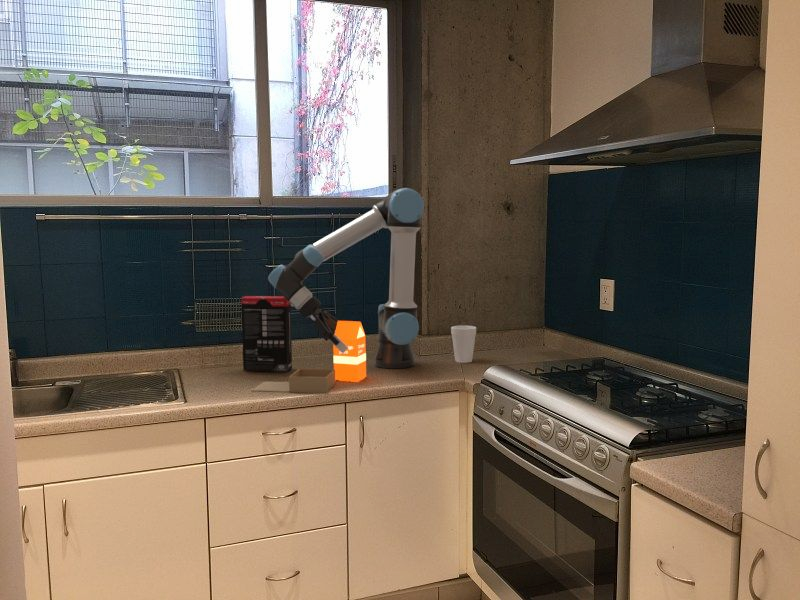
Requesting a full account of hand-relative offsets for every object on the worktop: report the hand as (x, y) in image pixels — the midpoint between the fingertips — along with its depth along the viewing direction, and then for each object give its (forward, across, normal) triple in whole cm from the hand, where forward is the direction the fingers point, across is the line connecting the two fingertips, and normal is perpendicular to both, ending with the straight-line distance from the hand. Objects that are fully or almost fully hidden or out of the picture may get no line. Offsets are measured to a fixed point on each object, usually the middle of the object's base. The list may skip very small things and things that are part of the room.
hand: (349, 346), depth 236 cm
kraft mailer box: (-3, +14, -19) cm, 24 cm away
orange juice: (+8, 0, -8) cm, 11 cm away
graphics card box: (-15, -11, -31) cm, 36 cm away
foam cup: (+34, -32, +18) cm, 51 cm away
